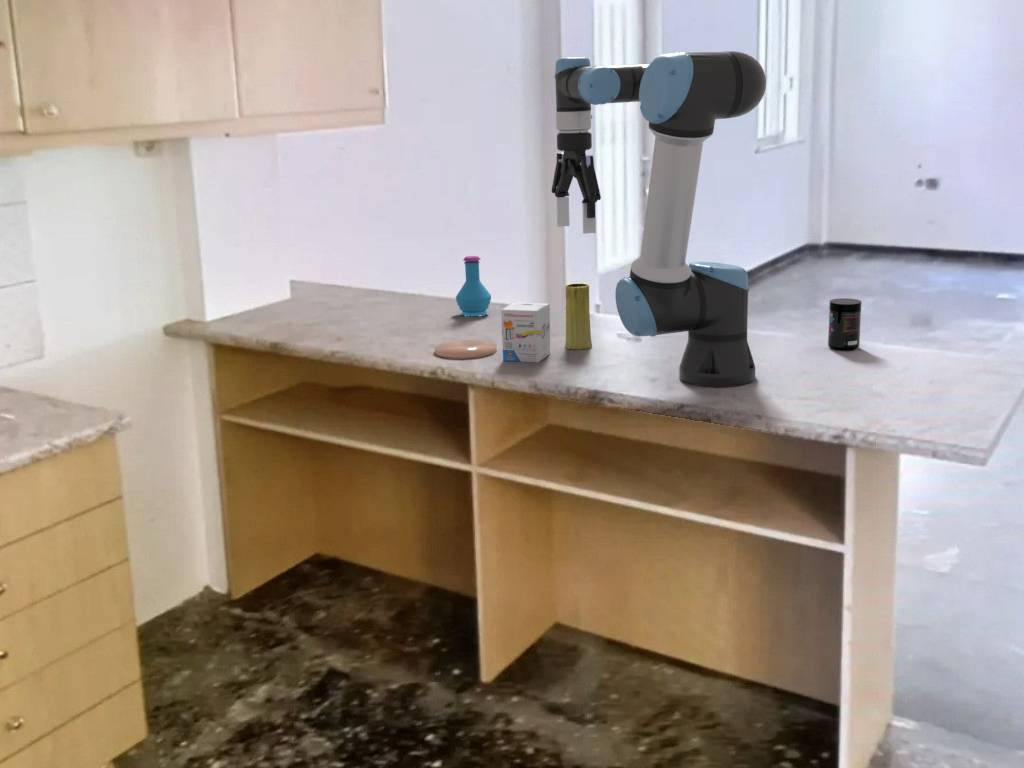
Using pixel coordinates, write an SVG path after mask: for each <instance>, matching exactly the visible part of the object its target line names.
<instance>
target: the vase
mask: <svg viewBox="0 0 1024 768" xmlns="http://www.w3.org/2000/svg"><path fill="white" fill-rule="evenodd" d="M591 334H592V333H591V316H590V285H589V284H588V283H584V282H581V283H580V282H577V283H576V282H574V283H573V282H572V283H567V284H566V285H565V345H564V347H565V349H567V350H573V351H582V350H588V349H591V348H592V347H593V343H592V335H591Z"/></svg>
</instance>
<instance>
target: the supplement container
mask: <svg viewBox="0 0 1024 768" xmlns="http://www.w3.org/2000/svg"><path fill="white" fill-rule="evenodd" d="M862 302H863V301H862V300H860V299H856V298H833V299H830V300H829V305H828V306H829V307H828V312H829V315H828V334H827V335H828V336H827V337H828V338H827V345H828V347H829V349H830V350H834V351H839V352H840V351H841V352H850V351H851V352H852V351H856V350H858V348H859V347H860V341H861V340H860V339H861V321H862V320H861V319H862V316H861V315H862Z"/></svg>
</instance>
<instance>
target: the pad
mask: <svg viewBox="0 0 1024 768" xmlns="http://www.w3.org/2000/svg"><path fill="white" fill-rule="evenodd" d="M497 351H498V350H497V345H496V343H494V342H491V341H488V340H481V339H478V340H477V339H464V340H463V339H461V340H460V339H459V340H453V341H448V342H442V343H440V344H438V345H436V346H435V347H434V354H435V355H436V356H437V357H440V358H444V359H451V360H452V359H454V360H468V359H479V358H483V357H488V356H491V355H493V354H495V353H497Z"/></svg>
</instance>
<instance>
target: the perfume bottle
mask: <svg viewBox="0 0 1024 768" xmlns="http://www.w3.org/2000/svg"><path fill="white" fill-rule="evenodd" d="M480 260H481V257H479V256H476V255H469V256H468V255H467V256H465V257H464V258H463V259H462V261H464V266H465V267H464V268H465V270H464V271H465V272H464V273H465V282H464V283H463V284H462V287H461V288H460V289H459V291H458V292H457V294H456V296H455V302H456V303H457V305H458V307H459V310H460V311H461V316H462V315H466V316H465V317H467V316H477V317H480V316H479V315H483V316H485V315H484V314H486V313H487V314H488V312H487V310H488V309H489V305H490V303H491V300H492V295H491V293H490V292H489V290H488V289H487V288H486V287H485V286H484V285H483V283H482V281H480ZM487 314H486V315H487Z"/></svg>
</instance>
